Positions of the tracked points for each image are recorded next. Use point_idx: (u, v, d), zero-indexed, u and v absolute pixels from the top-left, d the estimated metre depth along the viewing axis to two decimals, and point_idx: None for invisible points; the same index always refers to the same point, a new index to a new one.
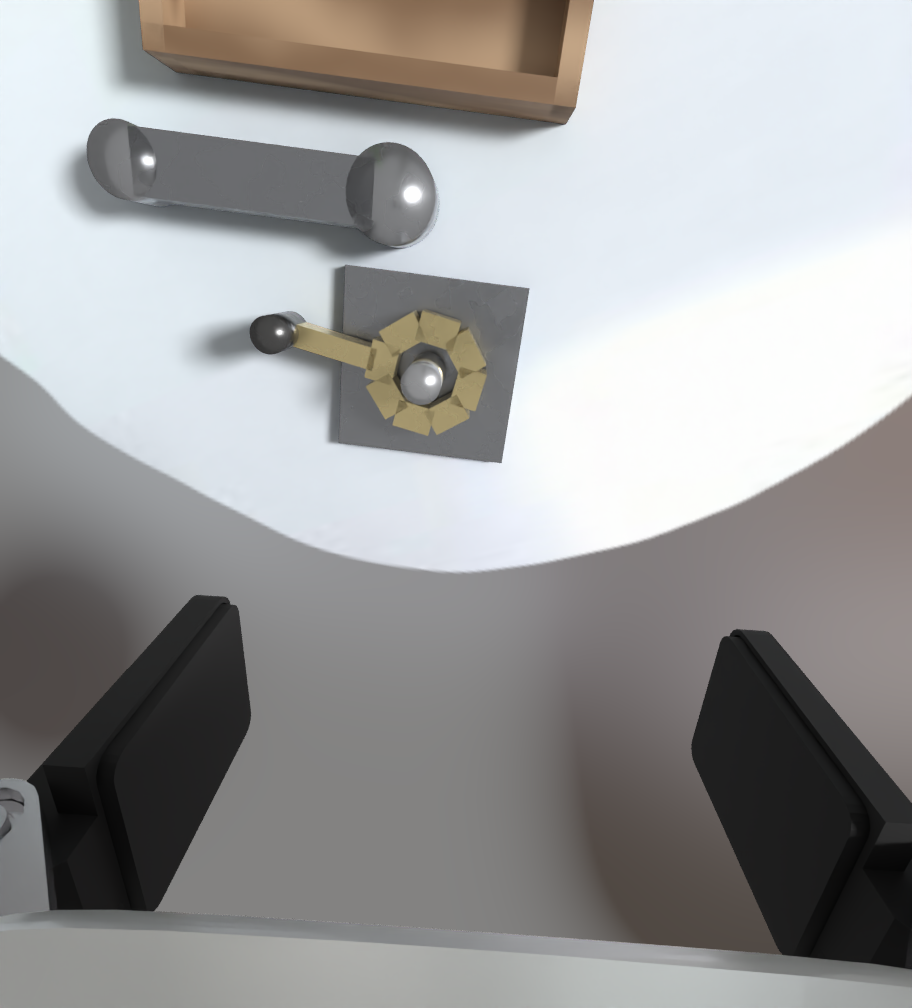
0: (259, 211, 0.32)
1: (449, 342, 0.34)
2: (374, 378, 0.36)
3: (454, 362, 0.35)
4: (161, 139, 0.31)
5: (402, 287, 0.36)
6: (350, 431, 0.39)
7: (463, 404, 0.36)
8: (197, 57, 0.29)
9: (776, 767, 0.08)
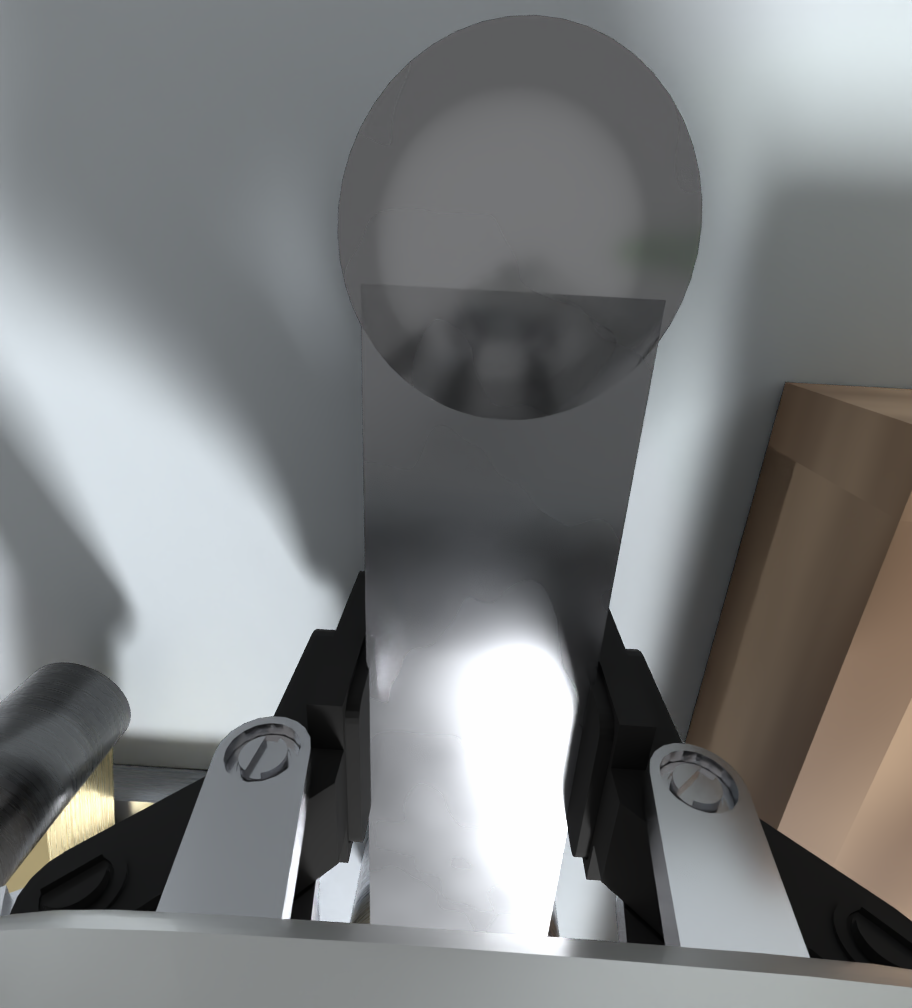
0: None
1: None
2: None
3: None
4: (597, 456, 0.07)
5: None
6: None
7: None
8: (852, 621, 0.08)
9: None
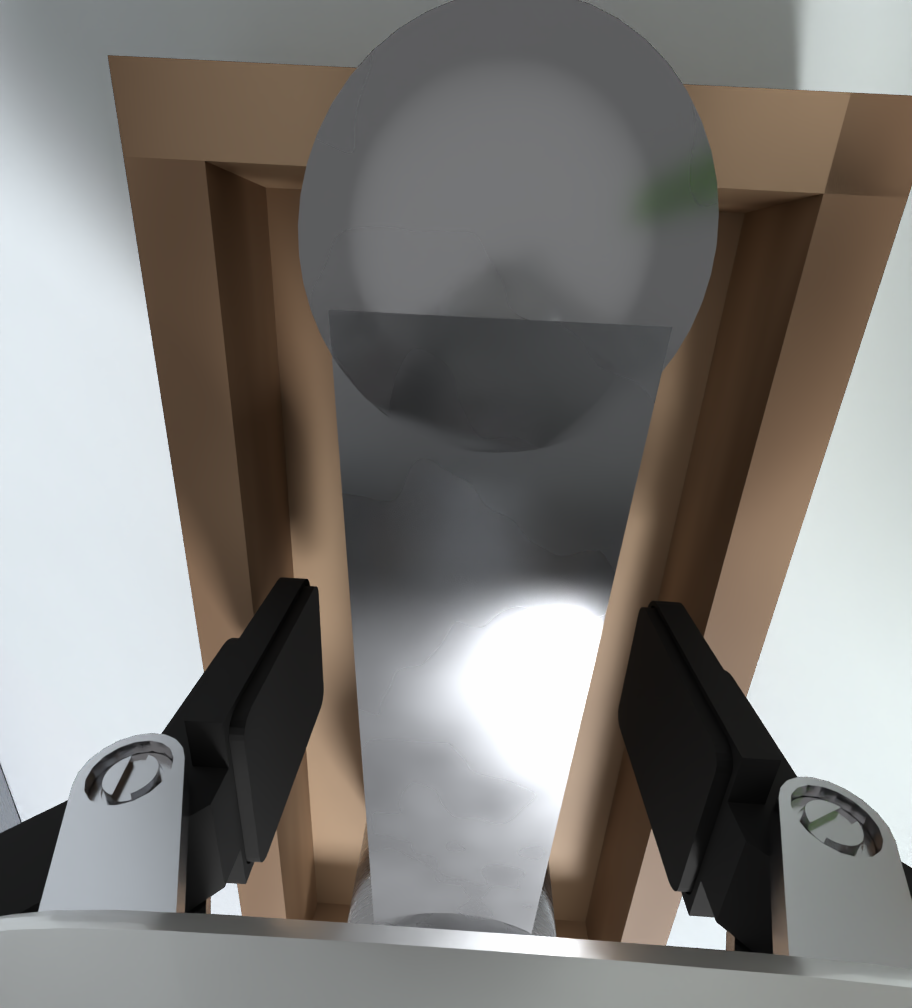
0: (365, 756, 0.09)
1: None
2: None
3: None
4: (593, 488, 0.06)
5: None
6: None
7: None
8: (148, 279, 0.09)
9: (671, 720, 0.09)
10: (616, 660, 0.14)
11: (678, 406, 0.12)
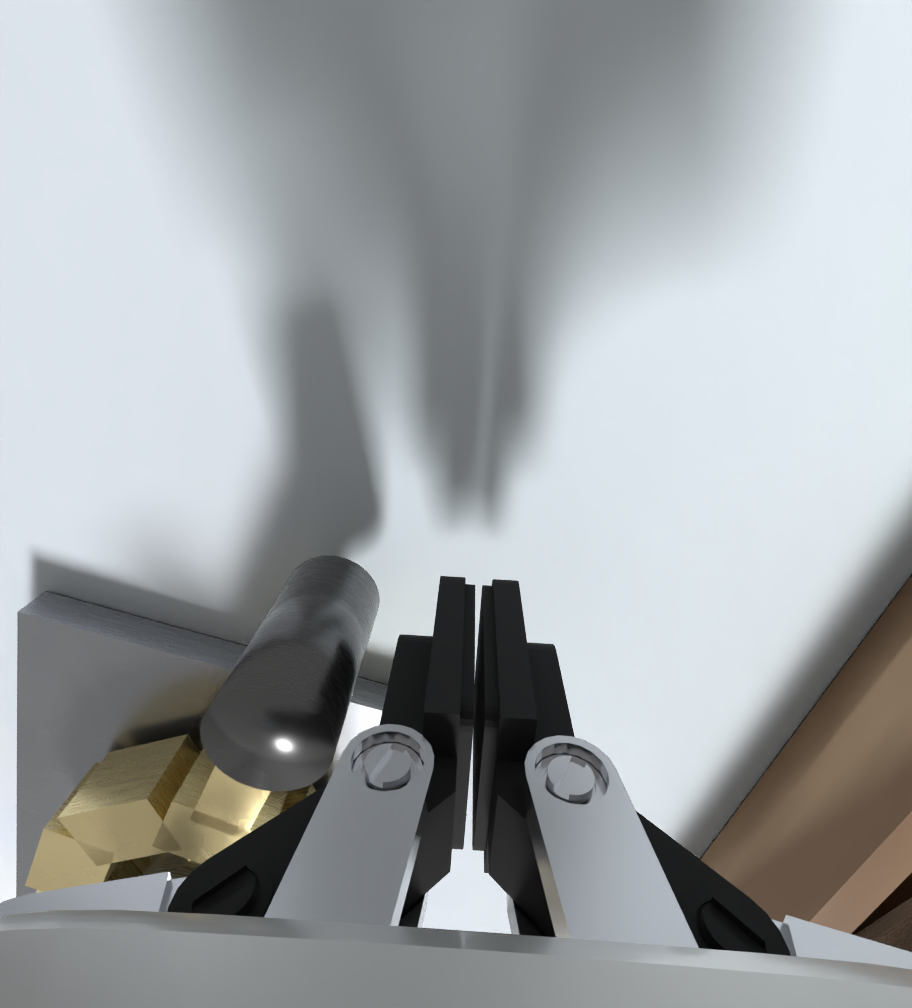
0: None
1: None
2: (169, 820, 0.13)
3: None
4: None
5: None
6: (54, 646, 0.14)
7: None
8: None
9: (480, 689, 0.09)
10: None
11: None
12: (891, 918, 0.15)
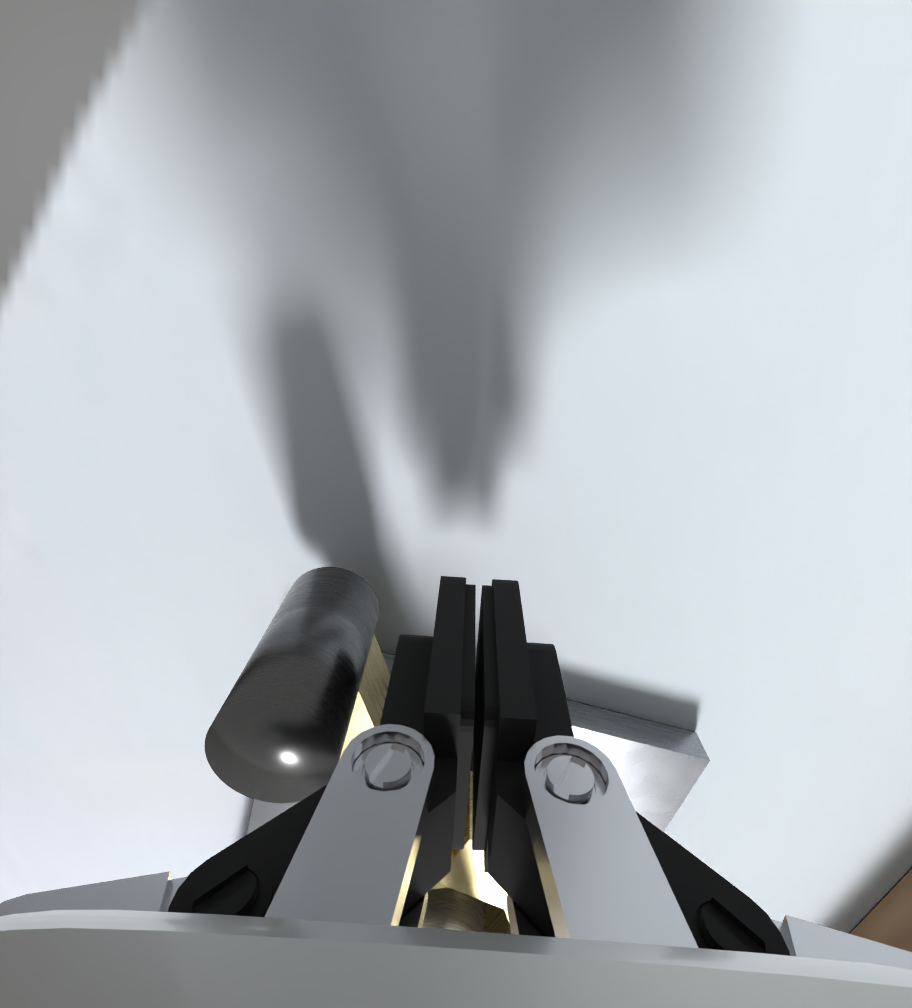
0: None
1: None
2: None
3: None
4: None
5: None
6: None
7: None
8: None
9: (480, 689, 0.09)
10: None
11: None
12: None
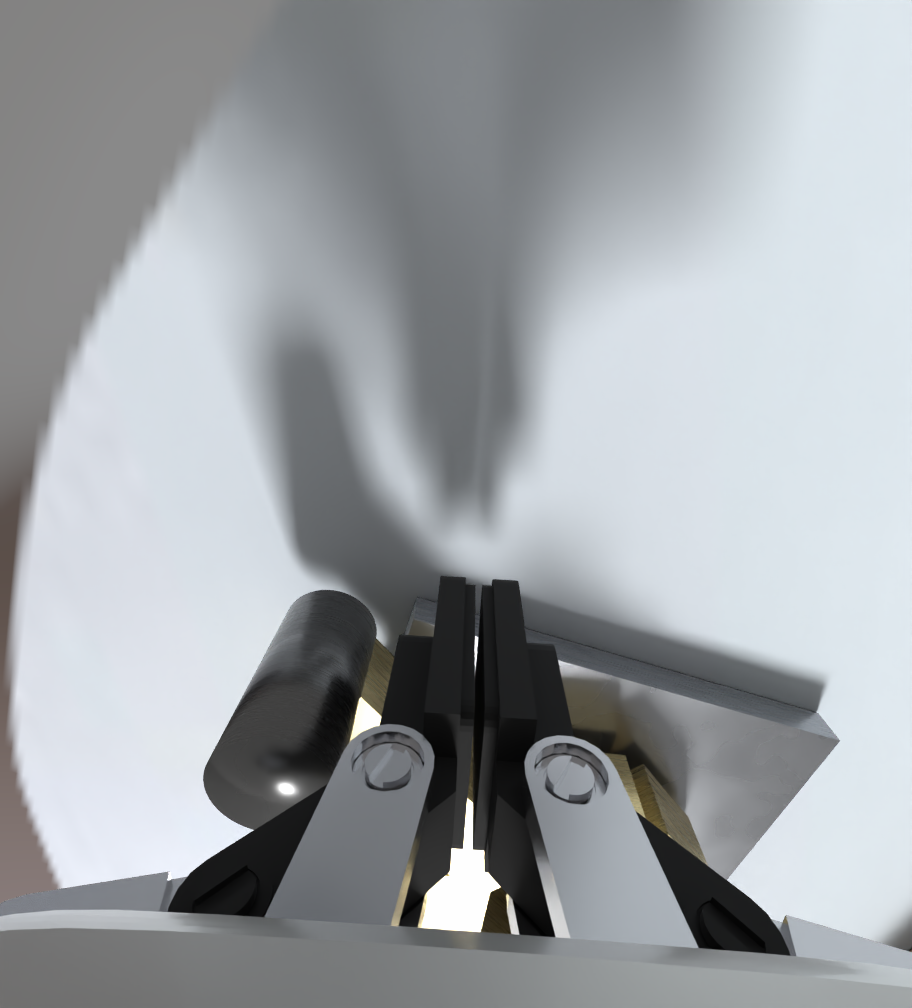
0: None
1: None
2: (453, 872, 0.13)
3: None
4: None
5: (738, 824, 0.16)
6: None
7: None
8: None
9: (480, 689, 0.09)
10: None
11: None
12: None
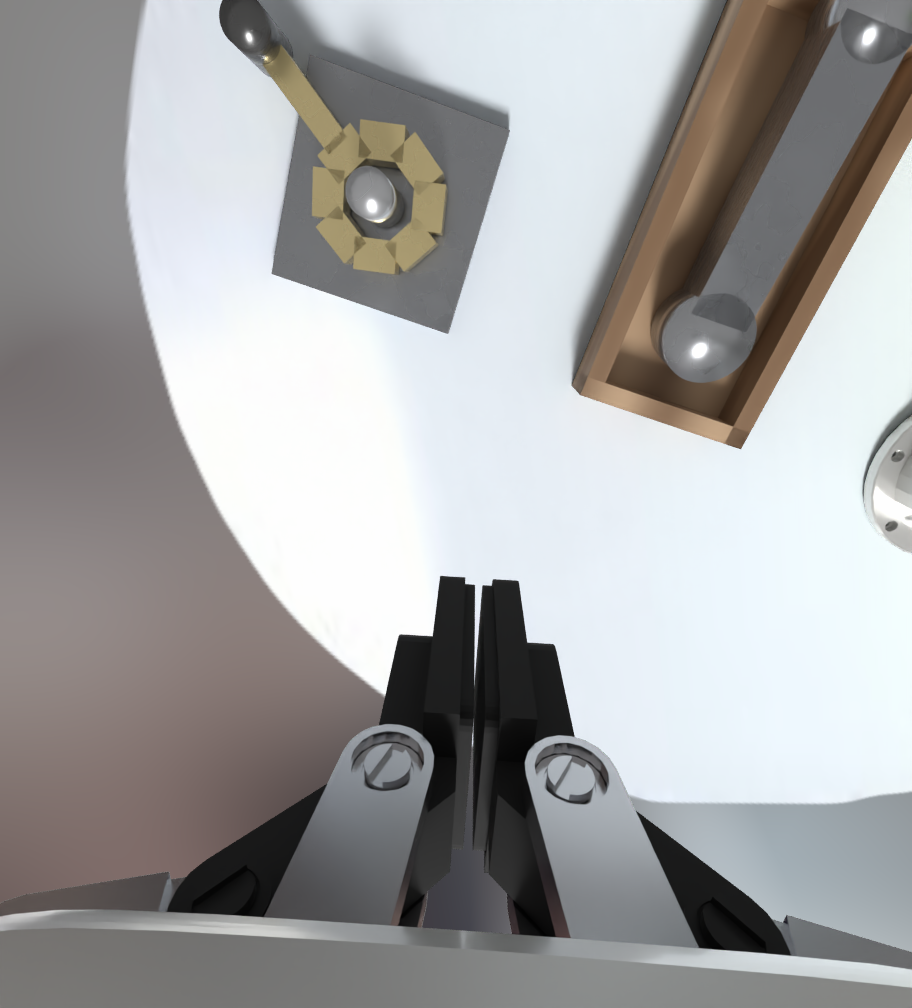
0: (756, 187, 0.28)
1: (421, 184, 0.31)
2: (326, 164, 0.31)
3: (414, 207, 0.31)
4: (878, 81, 0.26)
5: (474, 195, 0.33)
6: (323, 77, 0.31)
7: (397, 256, 0.32)
8: (739, 8, 0.28)
9: (481, 689, 0.09)
10: (791, 253, 0.34)
11: None
12: (712, 228, 0.32)
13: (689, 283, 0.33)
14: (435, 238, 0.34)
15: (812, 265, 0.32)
